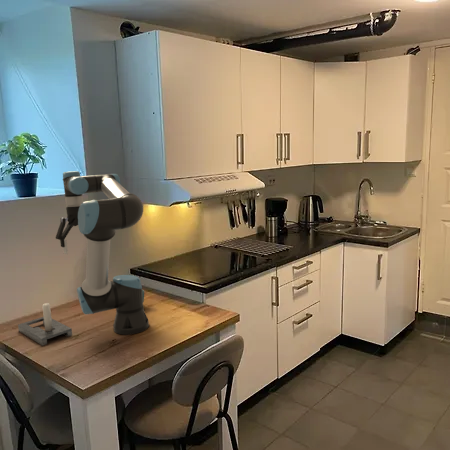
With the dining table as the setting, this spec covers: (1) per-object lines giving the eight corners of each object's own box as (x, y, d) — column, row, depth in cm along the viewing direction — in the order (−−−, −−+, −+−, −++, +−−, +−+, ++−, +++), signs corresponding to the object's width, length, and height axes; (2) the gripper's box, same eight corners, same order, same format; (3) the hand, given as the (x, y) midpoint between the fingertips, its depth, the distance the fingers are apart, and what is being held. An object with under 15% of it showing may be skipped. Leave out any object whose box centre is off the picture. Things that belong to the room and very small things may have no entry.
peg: (59, 335, 191) (55, 303, 189) (45, 339, 187) (42, 308, 185) (53, 331, 195) (49, 301, 193) (39, 336, 191) (35, 305, 189)
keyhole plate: (72, 335, 191) (71, 328, 190) (42, 345, 181) (41, 338, 181) (47, 321, 207) (46, 315, 207) (18, 330, 198) (17, 324, 198)
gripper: (95, 201, 215) (99, 244, 218) (44, 208, 197) (49, 255, 201) (103, 202, 210) (107, 246, 213) (51, 209, 192) (57, 257, 196)
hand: (79, 250), depth 207 cm, fingers open, 13 cm apart
